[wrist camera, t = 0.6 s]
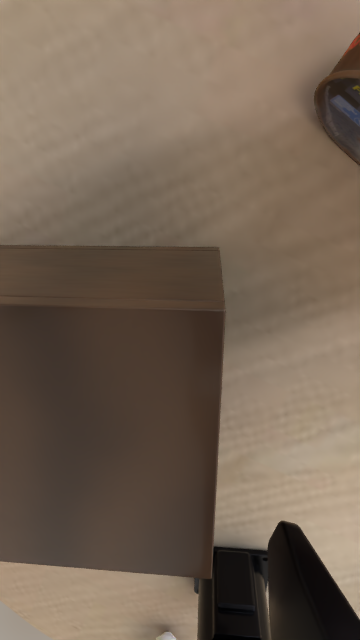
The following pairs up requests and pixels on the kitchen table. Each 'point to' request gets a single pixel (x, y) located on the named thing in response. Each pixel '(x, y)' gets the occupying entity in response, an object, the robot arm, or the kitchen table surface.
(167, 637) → the lightbulb
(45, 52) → the kitchen table surface
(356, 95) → the tin
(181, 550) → the cabinet
